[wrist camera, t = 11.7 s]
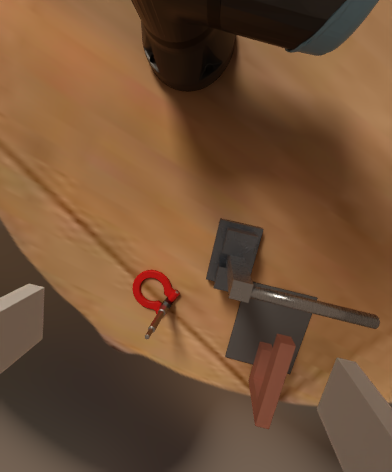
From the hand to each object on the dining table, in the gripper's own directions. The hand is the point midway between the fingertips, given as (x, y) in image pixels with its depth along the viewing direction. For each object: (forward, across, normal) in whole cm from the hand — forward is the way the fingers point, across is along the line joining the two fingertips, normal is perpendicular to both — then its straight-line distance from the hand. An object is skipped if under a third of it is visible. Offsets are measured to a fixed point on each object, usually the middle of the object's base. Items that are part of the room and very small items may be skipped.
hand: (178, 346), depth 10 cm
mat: (+34, +16, -19) cm, 42 cm away
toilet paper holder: (+34, +11, -5) cm, 36 cm away
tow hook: (+34, -9, -16) cm, 39 cm away
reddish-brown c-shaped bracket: (+29, +16, -15) cm, 36 cm away
